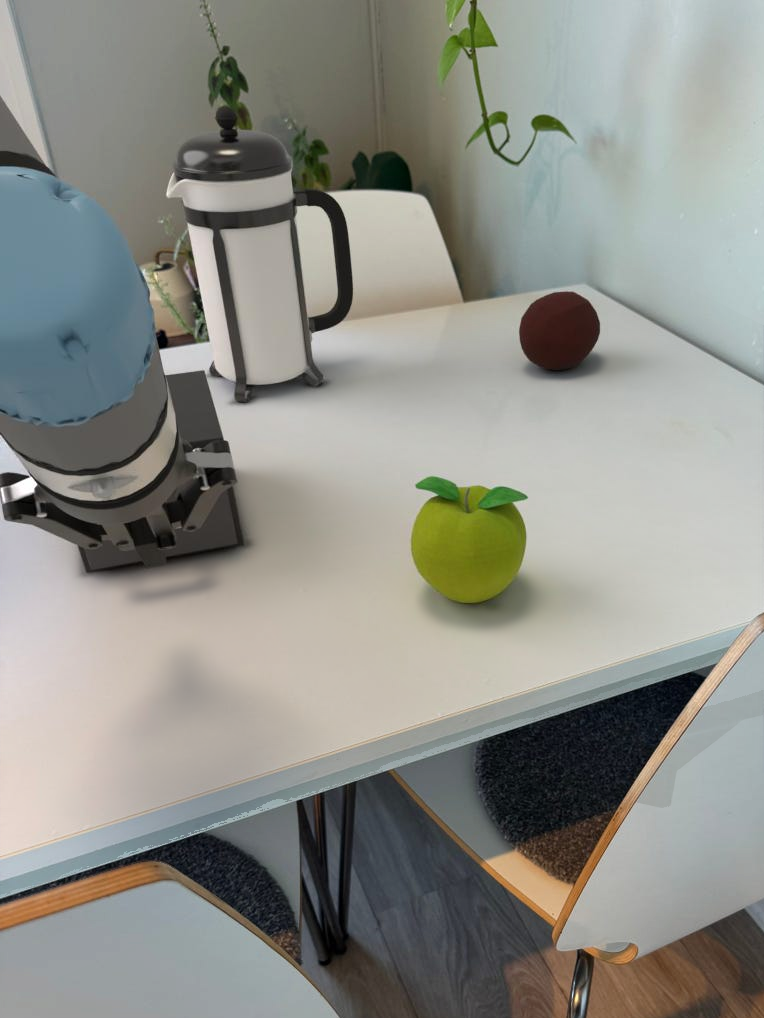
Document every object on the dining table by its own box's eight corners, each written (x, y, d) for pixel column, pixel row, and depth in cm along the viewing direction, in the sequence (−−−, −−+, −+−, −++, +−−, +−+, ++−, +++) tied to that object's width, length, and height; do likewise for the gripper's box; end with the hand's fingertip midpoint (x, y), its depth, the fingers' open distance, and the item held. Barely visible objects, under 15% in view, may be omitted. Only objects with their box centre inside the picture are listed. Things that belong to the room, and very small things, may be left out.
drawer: (244, 569, 80) (225, 477, 74) (91, 597, 77) (60, 503, 71) (219, 472, 94) (202, 389, 89) (89, 493, 91) (63, 408, 85)
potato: (502, 368, 118) (502, 294, 112) (567, 345, 124) (571, 274, 118) (550, 388, 113) (553, 312, 107) (616, 363, 119) (622, 290, 113)
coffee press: (300, 412, 108) (261, 121, 89) (182, 395, 112) (121, 113, 93) (362, 359, 120) (339, 95, 102) (254, 346, 125) (213, 90, 106)
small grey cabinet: (244, 545, 85) (223, 437, 78) (86, 573, 81) (50, 462, 75) (224, 469, 97) (204, 369, 90) (85, 491, 93) (54, 389, 86)
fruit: (434, 555, 83) (430, 454, 77) (535, 571, 81) (538, 469, 75) (398, 613, 76) (390, 508, 70) (507, 633, 74) (508, 525, 68)
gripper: (-34, 528, 43) (69, 615, 66) (248, 482, 46) (253, 580, 69) (-63, 377, 44) (48, 514, 66) (217, 342, 47) (232, 485, 70)
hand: (153, 548), depth 68 cm, fingers closed
